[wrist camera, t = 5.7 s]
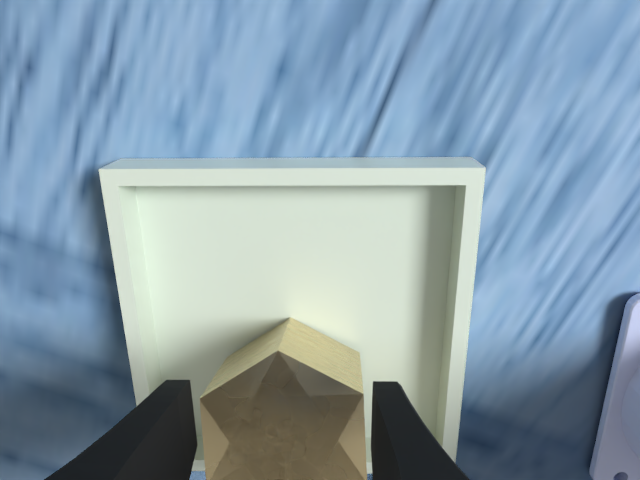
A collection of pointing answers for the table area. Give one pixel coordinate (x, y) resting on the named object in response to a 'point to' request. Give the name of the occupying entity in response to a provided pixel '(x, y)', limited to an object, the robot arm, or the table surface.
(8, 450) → the table surface
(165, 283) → the parts tray
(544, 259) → the table surface
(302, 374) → the wooden polyhedron
